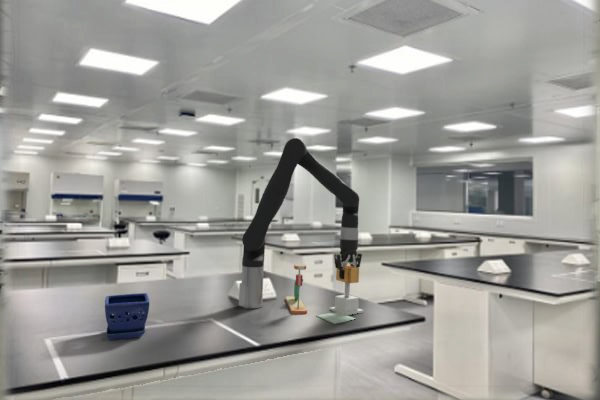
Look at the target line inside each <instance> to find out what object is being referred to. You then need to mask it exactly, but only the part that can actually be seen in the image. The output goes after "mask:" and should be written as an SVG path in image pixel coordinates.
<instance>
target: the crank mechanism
mask: <svg viewBox="0 0 600 400" xmlns="http://www.w3.org/2000/svg"><path fill="white" fill-rule="evenodd" d="M293 268H294V270H298V273H296V274H295V281H294V287H293V294H294V296H292V295H291V296H289V295H287V296H285V298H284V299H285V302H286V304H287V307H288V309H289V312H290V314H292V315H307V314H308V309H307V307H306V305H305V304H304V303H303V301H302V299H301V297H300V288H301V287H302V286H303V282H304V278H303V274H301V270H302V271H304V270H306V269H307V265H306V264H300V263H298V264H297V263H296V264H294V265H293Z"/></svg>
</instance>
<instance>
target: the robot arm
mask: <svg viewBox="0 0 600 400" xmlns="http://www.w3.org/2000/svg"><path fill="white" fill-rule="evenodd" d="M297 166H300V167H301V168H303V169H304V170H306V171H307V172H308V173H309V174H311V175H312V176H313V178H314V179H315V180H316V181H318V183H320V184H321V185H322V186H323V188H325V189H326V190H327V191H329V193H331V194H332V195H334V196H335V197H336V198H337V199H338V200H339V201H340V203H342V216H341V221H340V222H341V223H340V224H341V227H340V233H339V249H340V252H339V253H338V254H337V253H335V254H334V255H333V258H334V267H335V269H337V268H338V269H339V277H340V279H344V273H345V270H344V269H345V266H346V265H348V264H349V266H353V267H357V268H359V269H360V267H361V261H362V257H363V254H362V253H358V251H357V250H358V248H359V246H358V244H359V206H360V196H359V194H358V192H356V191H355V190H354V189H353V188H351V187H350V186H349V185H347V184H346V183H345V182H344V180H342V179H341V178H340V177H339V176H338V175H336V174H335V172H333V171H332V170H330V169H329V168H328V167H326V166H325V165H324V164H322V163H321V162H320V161H319V160H317V159H316V157H315V156H314V155H312V153H310V151H309V150H308V149H307V146H306V144H305V142H304V141H303V140H302V139H301V138H297V137H295V138H294V137H293V138H291V139H289V140H287V142H286V143H285V145H284V147H283V150H282V153H281V155H280V158H279V161H278V164H277V166H276V167H275V170H274V171H273V173H272V175H271V177H270V178H269V181H268V183H267V185H266V187H265V189H264V191H263V193H262V195H261V198H260V200H259V203H258V205H257V208H256V211H255V213H254V217H253V218H252V220H251V222H250V224H249V226H248V227H247V229H245V231H244V233H243V236H242V238H241V239H242V245H243V248H242V249H243V252H242V261H241V281H240V283H239V288H238V289H239V290H238V293H239V294H238V306H239V307H242V308H243V309H246V310H247V309H258V308H262V307H263V297H264V295H263V293H264V271H265V269H264V267H265V265H264V263H265V252H266V251H265V249H266V235H267V233H268V231H269V228H270V224H272V222H273V220H274V218H275V217H276V215H277V214H278V212H279V210H280V208H281V207H282V205H283V202H284V201H285V199H286V196H287V194H288V191H289V189H290V185H291V182H292V178H293V174H294V172H295V169H296V167H297Z"/></svg>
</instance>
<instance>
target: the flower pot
mask: <svg viewBox="0 0 600 400" xmlns="http://www.w3.org/2000/svg"><path fill="white" fill-rule="evenodd" d="M149 311H150V298H149V296H148V293H147V292H141V293H126V294H115V295H107V296H106V297H105V299H104V313H105V321H106V323H107V328H106V332H105V336H106V338H107V339H108V340H112V341H113V340H120V339H121V340H122V339H132V338H139V337H142V336H144V334H145V332H146V322H147V319H148V316H149Z"/></svg>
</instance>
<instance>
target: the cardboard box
mask: <svg viewBox="0 0 600 400" xmlns="http://www.w3.org/2000/svg"><path fill="white" fill-rule="evenodd" d="M344 270H345V273H344V279H340V277H339V269H338V268H336V273H335V274H336V275H335V280H336V281H340V282H342V283H345V282H346V283H350V284H357V283H359V282H360V281H359V280H360V279H359V278H360V267H359V268H357V267H353V266H350V265H348V264H347V265H346V266H345V269H344Z"/></svg>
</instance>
